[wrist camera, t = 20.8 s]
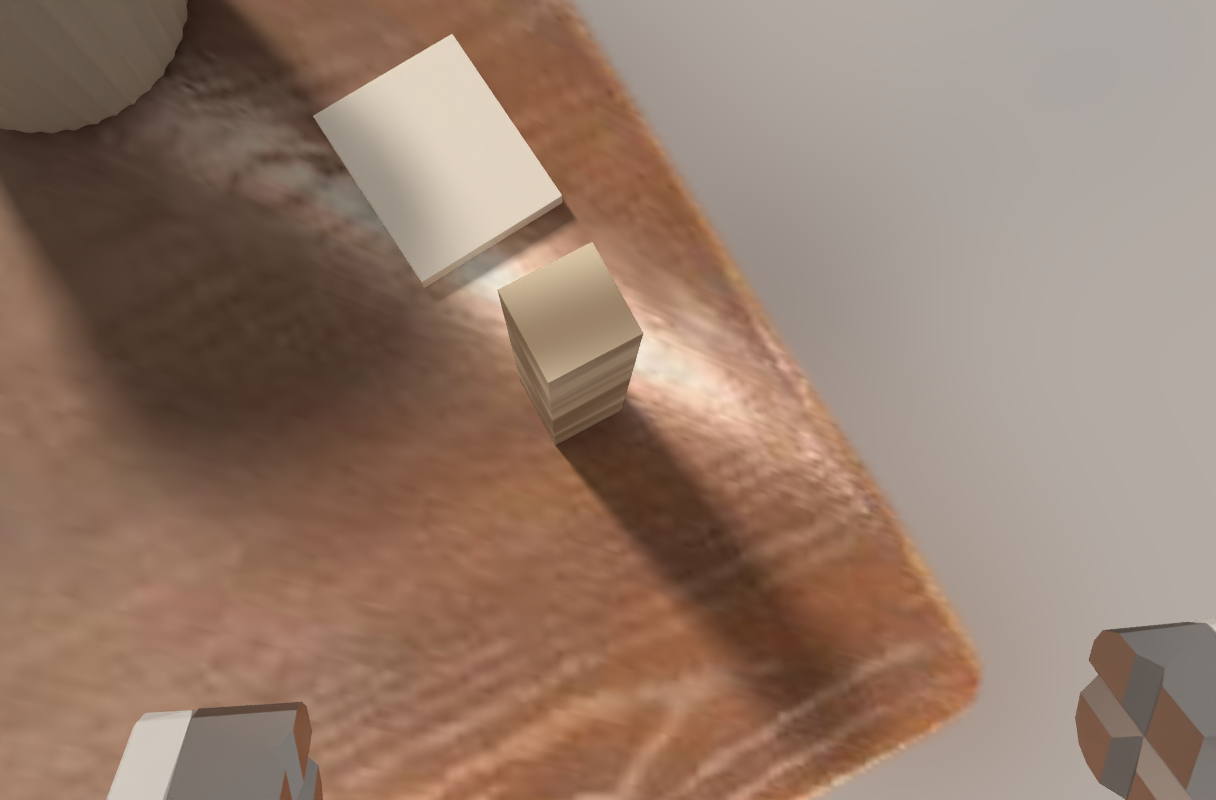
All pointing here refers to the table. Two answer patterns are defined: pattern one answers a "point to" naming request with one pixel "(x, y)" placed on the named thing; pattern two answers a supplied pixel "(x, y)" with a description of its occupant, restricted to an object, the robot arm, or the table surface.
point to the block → (572, 341)
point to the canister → (81, 58)
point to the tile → (438, 160)
